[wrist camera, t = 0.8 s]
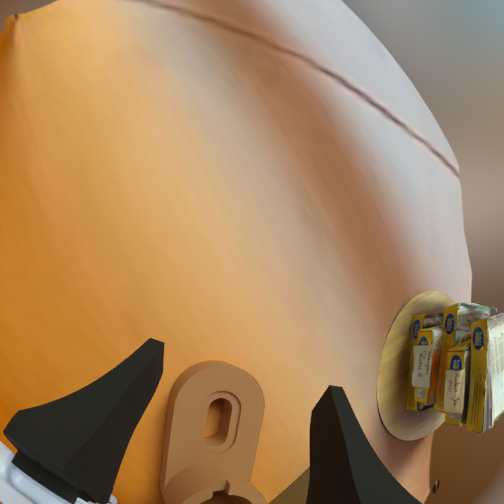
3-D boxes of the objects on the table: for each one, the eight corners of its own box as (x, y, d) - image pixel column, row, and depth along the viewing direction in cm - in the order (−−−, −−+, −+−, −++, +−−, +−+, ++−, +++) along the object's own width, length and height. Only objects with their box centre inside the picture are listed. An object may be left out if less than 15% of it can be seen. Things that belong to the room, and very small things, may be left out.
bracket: (231, 507, 23) (258, 541, 16) (156, 507, 20) (170, 547, 13) (258, 365, 28) (296, 378, 21) (175, 353, 25) (194, 367, 18)
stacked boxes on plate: (358, 447, 31) (461, 479, 16) (390, 275, 38) (496, 253, 23) (438, 427, 40) (510, 437, 25) (458, 306, 47) (529, 297, 32)
